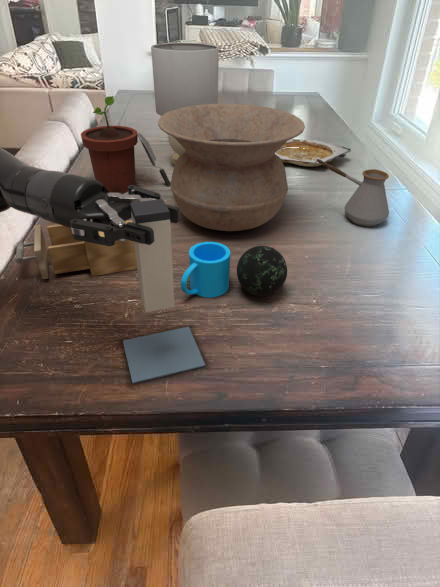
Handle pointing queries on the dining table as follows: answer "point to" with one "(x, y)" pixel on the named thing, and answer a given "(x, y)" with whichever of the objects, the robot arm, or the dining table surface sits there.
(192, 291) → the mug
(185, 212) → the pot
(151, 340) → the mat
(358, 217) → the coffee pot
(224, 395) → the dining table surface
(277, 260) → the decorative stone
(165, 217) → the black-capped tall post
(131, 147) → the potted plant
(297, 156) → the pizza
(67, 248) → the drawer
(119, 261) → the cabinet
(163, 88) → the lamp
